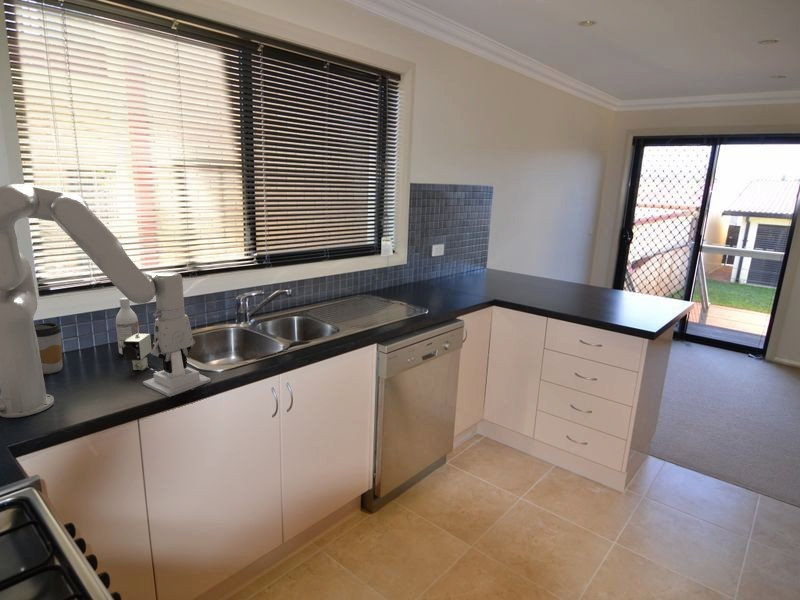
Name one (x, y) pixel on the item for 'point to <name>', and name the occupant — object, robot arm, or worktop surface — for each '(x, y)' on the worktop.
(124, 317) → the bath foam
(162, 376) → the flange
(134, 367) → the pneumatic valve
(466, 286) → the worktop surface
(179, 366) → the salt shaker
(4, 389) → the robot arm
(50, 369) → the coffee cup
